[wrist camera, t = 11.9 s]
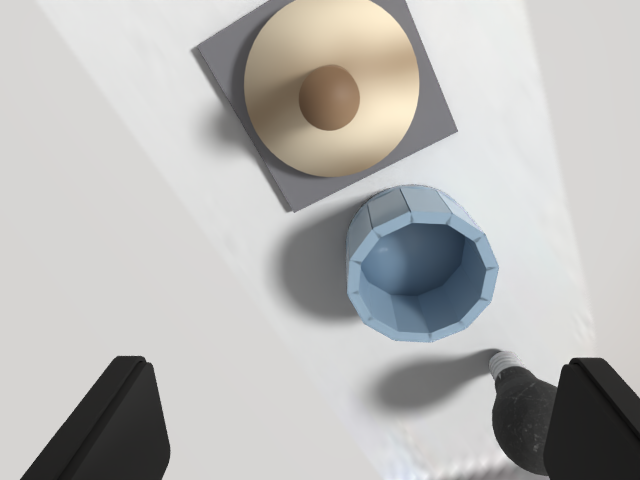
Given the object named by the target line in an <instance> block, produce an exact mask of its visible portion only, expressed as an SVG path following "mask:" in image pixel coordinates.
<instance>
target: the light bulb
mask: <svg viewBox="0 0 640 480" xmlns="http://www.w3.org/2000/svg"><path fill="white" fill-rule="evenodd" d="M489 370H490V372H491V374H492V376H493V379H494V380H495V389H496V393H497V394H496V399H495V403H494V406H493V410H492V426H493V430H494V434H495V437H496V440H497V442H498V444H499V446H500V447H501V449H502V450H503V451H504V453H505V454H506V455H507V457H509V458H510V459H511V460H512V461H513V462H514V463H515V464H517V465H518V466H520V467H521V468H523V469H524V470H527V471H529V472H531V473H534V474H538V475H544V476H548V474H547V472H546V469H545V466H544V461H543V452H544V447H545V442H546V438H547V433H548V429H549V424H550V420H551V415H552V411H553V406H554V402H555V397H556V393H557V387H555V386H553V385H551V384H549V383H547V382H544V381H542V380H539V379H537V378H536V377H535V376H534V375H533V374H532V373H531V372H530V371H529V370H527V369H526V367H525V366H524V364H523V363H522V361H521V360H520V359H519V358H518V356H517V355H516V354H515V353H513V352H509V351H503V352H499V353H497V354H495V355H494V356H493V357H492V358H491V359H490V361H489Z"/></svg>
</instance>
